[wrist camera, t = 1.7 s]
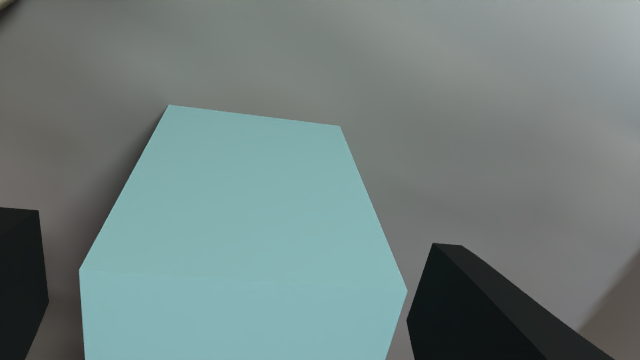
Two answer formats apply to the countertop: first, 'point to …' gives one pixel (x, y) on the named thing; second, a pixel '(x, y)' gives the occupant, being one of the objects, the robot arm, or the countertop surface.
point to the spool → (5, 3)
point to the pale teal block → (241, 248)
